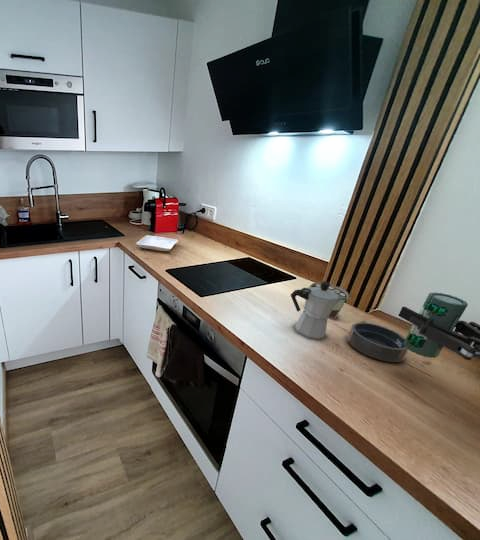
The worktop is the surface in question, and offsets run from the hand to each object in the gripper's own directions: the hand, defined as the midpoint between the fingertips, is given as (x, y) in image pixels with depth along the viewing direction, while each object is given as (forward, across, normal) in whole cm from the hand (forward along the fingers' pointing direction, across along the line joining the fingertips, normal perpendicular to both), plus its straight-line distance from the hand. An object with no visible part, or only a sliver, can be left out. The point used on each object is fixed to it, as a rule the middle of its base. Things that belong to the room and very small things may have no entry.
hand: (413, 310), depth 75 cm
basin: (+6, +2, -17) cm, 18 cm away
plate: (+103, -45, -17) cm, 114 cm away
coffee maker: (+16, -14, -17) cm, 27 cm away
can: (-5, 0, -9) cm, 10 cm away
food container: (+27, +2, -17) cm, 32 cm away
